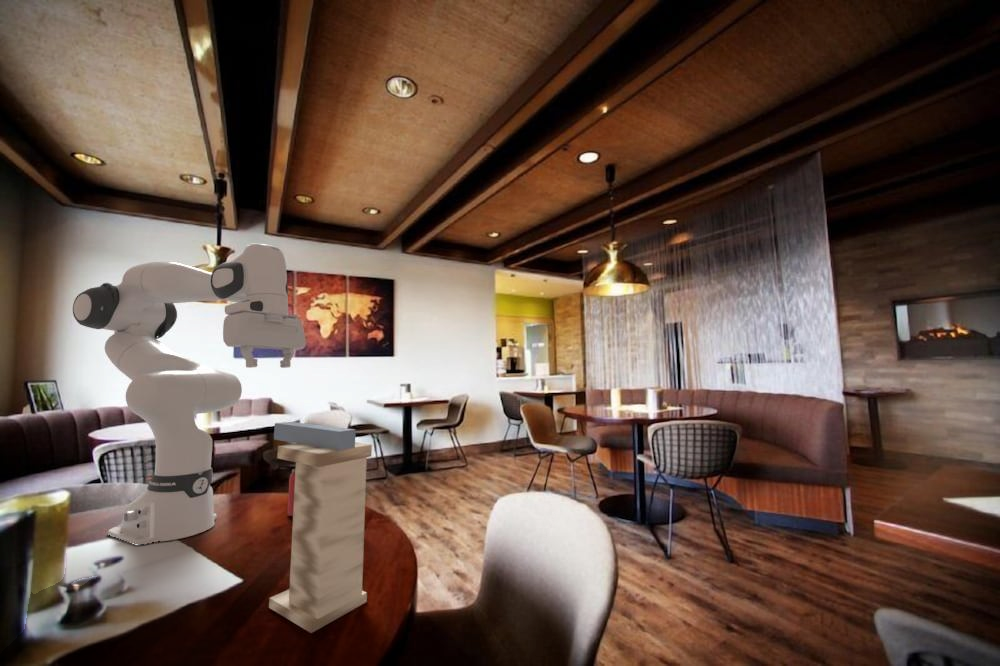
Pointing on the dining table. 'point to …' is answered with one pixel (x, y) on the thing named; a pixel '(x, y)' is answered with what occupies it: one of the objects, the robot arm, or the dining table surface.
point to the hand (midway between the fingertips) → (269, 367)
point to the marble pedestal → (325, 534)
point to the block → (315, 435)
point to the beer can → (291, 493)
